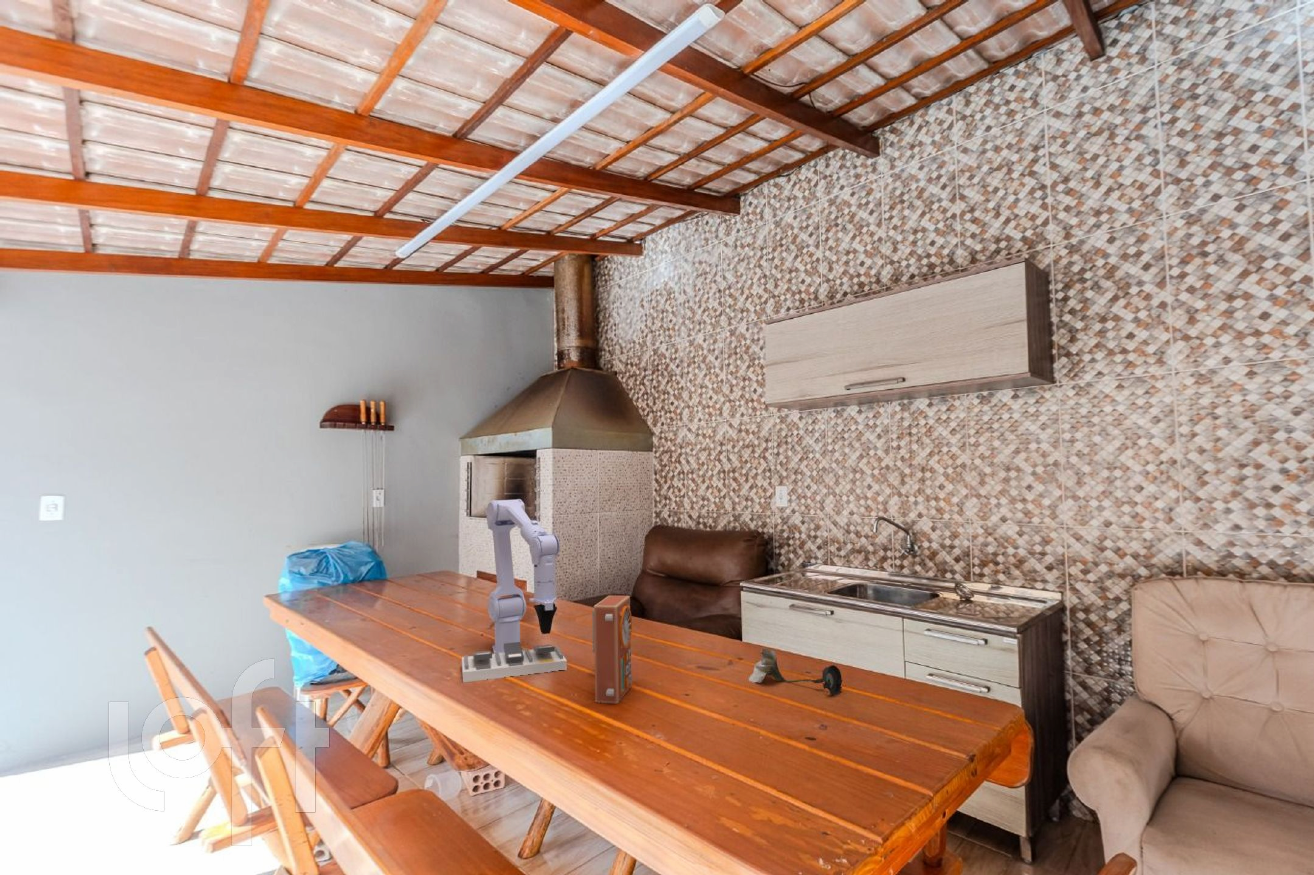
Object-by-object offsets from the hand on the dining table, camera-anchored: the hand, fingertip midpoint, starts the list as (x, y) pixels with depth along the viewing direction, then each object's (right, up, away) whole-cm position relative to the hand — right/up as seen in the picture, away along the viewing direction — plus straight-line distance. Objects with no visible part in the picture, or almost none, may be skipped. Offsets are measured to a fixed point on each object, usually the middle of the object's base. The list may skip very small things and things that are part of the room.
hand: (545, 632), depth 169 cm
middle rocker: (-9, -5, +1) cm, 10 cm away
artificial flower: (+61, -8, -18) cm, 64 cm away
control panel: (+19, -8, -21) cm, 30 cm away
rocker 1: (-16, -5, -2) cm, 17 cm away
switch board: (-9, -10, +1) cm, 13 cm away
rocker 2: (-1, -5, +3) cm, 6 cm away
